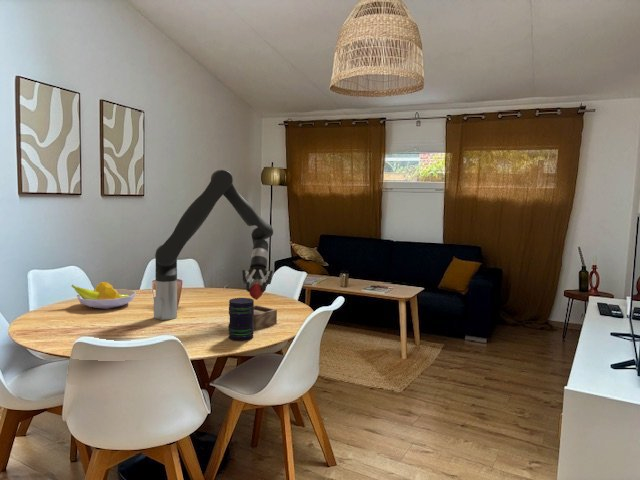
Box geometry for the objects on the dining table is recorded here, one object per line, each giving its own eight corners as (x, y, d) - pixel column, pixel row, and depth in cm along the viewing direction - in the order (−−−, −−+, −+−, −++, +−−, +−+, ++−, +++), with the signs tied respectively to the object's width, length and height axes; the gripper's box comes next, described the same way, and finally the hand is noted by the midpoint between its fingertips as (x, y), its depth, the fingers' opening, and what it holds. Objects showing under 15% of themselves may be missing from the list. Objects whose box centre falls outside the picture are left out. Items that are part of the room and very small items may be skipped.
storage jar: (226, 341, 177) (226, 303, 176) (230, 333, 187) (230, 297, 186) (252, 341, 178) (253, 303, 176) (254, 333, 187) (255, 297, 186)
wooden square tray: (255, 330, 194) (255, 315, 193) (234, 324, 201) (234, 310, 201) (276, 324, 204) (276, 309, 203) (255, 318, 212) (256, 305, 211)
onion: (251, 301, 198) (252, 283, 197) (247, 298, 203) (247, 281, 202) (264, 300, 201) (264, 282, 200) (260, 297, 206) (260, 280, 205)
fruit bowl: (143, 300, 242) (143, 278, 241) (122, 312, 215) (122, 289, 214) (89, 299, 241) (89, 277, 240) (62, 311, 214) (61, 287, 213)
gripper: (242, 254, 207) (238, 286, 197) (274, 255, 208) (271, 286, 197) (244, 264, 213) (240, 295, 202) (275, 265, 213) (272, 296, 203)
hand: (255, 291), depth 200 cm, fingers closed on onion, 5 cm apart
